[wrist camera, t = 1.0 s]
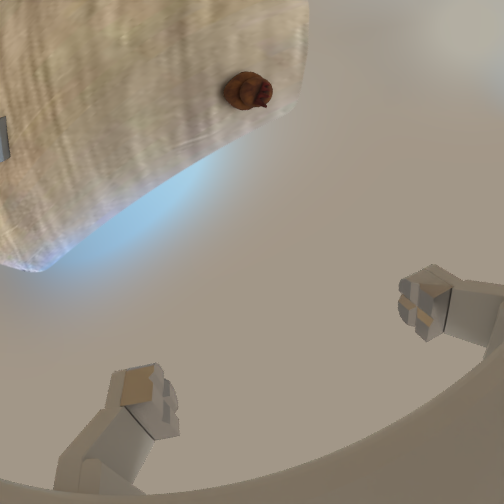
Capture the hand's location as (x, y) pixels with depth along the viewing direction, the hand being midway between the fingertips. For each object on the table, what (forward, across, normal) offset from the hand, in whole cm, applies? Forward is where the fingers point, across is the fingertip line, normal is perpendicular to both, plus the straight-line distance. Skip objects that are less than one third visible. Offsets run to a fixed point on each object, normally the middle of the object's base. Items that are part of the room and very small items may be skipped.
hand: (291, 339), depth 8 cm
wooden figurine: (+46, -10, -15) cm, 49 cm away
